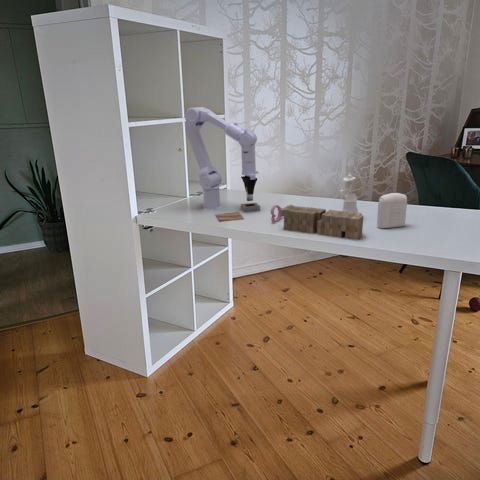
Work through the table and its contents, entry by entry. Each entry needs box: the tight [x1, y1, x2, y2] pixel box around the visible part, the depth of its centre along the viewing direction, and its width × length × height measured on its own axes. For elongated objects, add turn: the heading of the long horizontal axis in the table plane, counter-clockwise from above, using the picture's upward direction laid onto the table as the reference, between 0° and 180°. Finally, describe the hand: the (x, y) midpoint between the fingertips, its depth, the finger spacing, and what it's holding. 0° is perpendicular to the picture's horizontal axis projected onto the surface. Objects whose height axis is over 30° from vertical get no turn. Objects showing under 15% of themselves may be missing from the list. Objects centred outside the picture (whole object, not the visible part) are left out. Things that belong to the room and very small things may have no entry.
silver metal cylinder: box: [245, 187, 254, 202], centre depth 186 cm, size 3×3×6 cm
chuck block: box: [240, 202, 261, 213], centre depth 188 cm, size 7×7×2 cm
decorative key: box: [270, 204, 283, 223], centre depth 175 cm, size 7×1×20 cm
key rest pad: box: [214, 211, 245, 223], centre depth 178 cm, size 10×10×1 cm
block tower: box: [280, 204, 364, 241], centre depth 155 cm, size 8×8×29 cm
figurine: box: [339, 172, 359, 213], centre depth 168 cm, size 7×8×18 cm
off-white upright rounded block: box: [376, 192, 408, 229], centre depth 156 cm, size 10×4×12 cm, turn 103°
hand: (249, 193), depth 186 cm, fingers closed on silver metal cylinder, 3 cm apart
